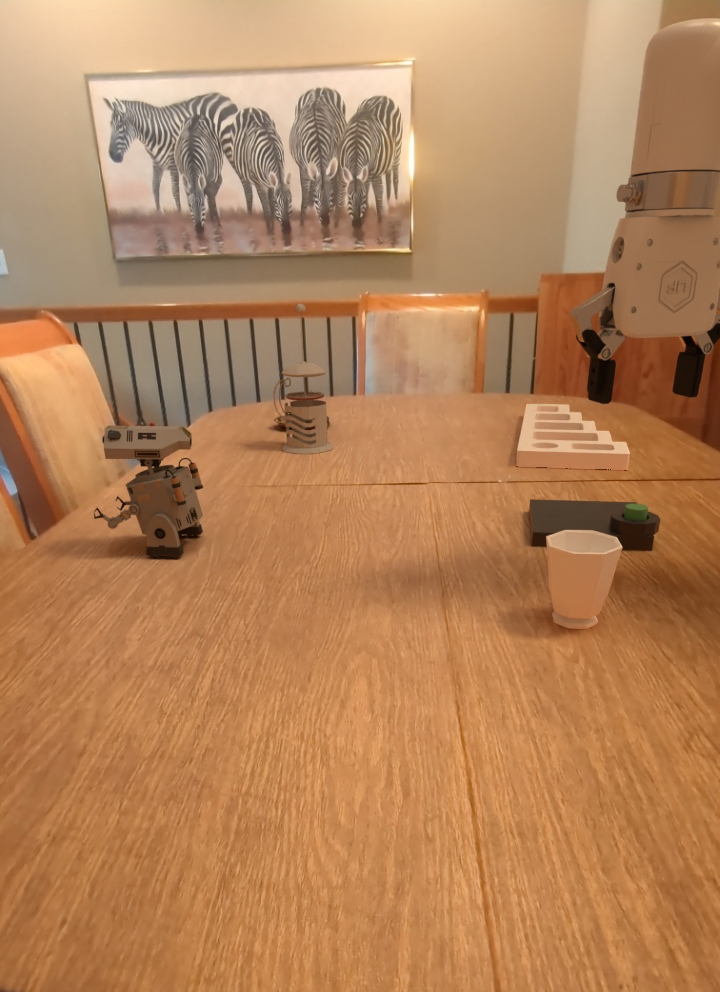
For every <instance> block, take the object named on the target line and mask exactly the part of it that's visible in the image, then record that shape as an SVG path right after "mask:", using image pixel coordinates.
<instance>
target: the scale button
mask: <svg viewBox="0 0 720 992" xmlns="http://www.w3.org/2000/svg"><path fill="white" fill-rule="evenodd" d="M648 512H649V506H648V505H646V504H643V503H637V504H627V505H626V506H625V513H624V518H625V519H630V520H641V521H642V520H647V514H648Z"/></svg>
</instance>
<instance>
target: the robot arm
mask: <svg viewBox="0 0 720 992" xmlns="http://www.w3.org/2000/svg"><path fill="white" fill-rule="evenodd" d="M642 66H643V67H642V75H641V83H640V92H639V99H638V108H637V116H636V125H635V132H634V133H635V134H634V141H633V149H632V157H631V166H630V174H629V177H628V179H627V180H628V181H627V184H619V186H618V188H617V190H616V200H617V201H616V202H618V203H624V204H625V205H624V211H625V214H624V217H623V218H622V217H621V218H619V219H618V222H617V225H616V227H615V231H614V233H613V237H612V240H611V244H610V248H609V253H608V257H607V261H606V266H605V271H604V276H603V281H602V286H601V290H600V291H598V292H597V293H595V294H594V295H592V296H591V297H590V298H587V299H586V300H584V301H583V302H581V303H580V304H578V305H576V306H574V307H573V308H572V309H571V310H570V311H569V319H570V321H571V324H572V327H573V330H574V332H575V333H576V334H575V339H576V340H577V342H578V343H579V345H580V346H581V347H582V349H583V350H584V352H585V353H584V354H585V356H586V357H587V358H589V368H588V376H587V383H586V384H587V385H586V390H587V391H586V392H587V399H588V400H589V401H591V402H594V403H598V404H602V405H609V404H610V403H611V402H612V399H613V392H614V391H613V390H614V383H615V376H616V369H617V362H616V360H615V359H612V356H613V355H614V354H615V352H616V351H617V350H618V349H619V347H620V346H621V345H622V344H623V342H624V341H625V340H626V338H631V339H656V338H676V337H677V338H678V339H679V341H680V343H681V344H682V346H683V349H684V351H679V352H678V354H677V360H676V365H675V372H674V378H673V384H672V393H673V394H674V395H678V396H682V397H686V398H697V397H698V395H699V392H700V391H699V390H700V385H701V382H702V377H703V370H704V365H705V360H706V355H709V354H711V353H712V352H713V349H714V346H715V344H716V343H717V342H718V341H719V340H720V215H715V212H716V206H717V200H718V193H719V188H720V18H719V17H718V18H715V17H712V18H711V17H710V18H709V17H707V18H706V17H705V18H704V17H703V18H695V19H689V20H683V21H679V22H675V23H672V24H670V25H666V26H665V27H663V28H661V29H660V30H658V31H657V32H656V33H654V35H652V37H651V39H650V40H649V41H648V44H647V47H646V49H645V54H644V60H643V65H642ZM597 314H598V328H599V331H598V332H596V331H595V329H594V328H593V323H592V321H593V317H594V316H595V315H597Z"/></svg>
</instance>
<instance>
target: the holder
mask: <svg viewBox="0 0 720 992" xmlns="http://www.w3.org/2000/svg"><path fill="white" fill-rule="evenodd" d="M524 410H525V411H524V414H523V415H524V416H523V419H522V424H521V430H520V434H519V439H518V444H517V449H516V458H515V459H516V460H515V461H516V462H515V467H516V466H518V467H517V468H536V467H547V468H546V469H565V468H568V469H569V470H570V468H571V470H595V469H607V470H606V471H624V470H627V471H628V470H629V465H630V458H631V452H630V449H629V447H628V446H629V445H628V443H627V441H613V439H612V436H611V432H610V430H597V427H596V421H594V420H583V416H582V412H581V411H570V410H571V409H570V404H567V403H566V404H565V403H526V405H525V409H524ZM568 469H567V470H568ZM608 469H609V470H608ZM610 469H611V470H610Z"/></svg>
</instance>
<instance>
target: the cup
mask: <svg viewBox="0 0 720 992" xmlns="http://www.w3.org/2000/svg"><path fill="white" fill-rule="evenodd" d="M546 543H547V547H546V555H547V572H548V573H547V574H548V588H549V593H550V599H551V605H552V608H553V611H552V612H551V617H552V620H553V623H554V624H556V625H559V626H561V627H563V628H566V629H569V630H570V629H571V630H573V629H574V630H588V629H590V628H592V627H595V626H596V625H598V618H597V615H599V614H600V613H601V612H602V609H603V607H604V604H605V602H606V600H607V598H608V596H609V593H610V590H611V586H612V582H613V580H614V575H615V574H616V570H617V566H618V564H619V560H620V557H621V553H622V551H623V550H622V545H621V544H620V542H619V540H618V539H617V537H614V536H611V535H607V534H604V533H600V532H597V531H593V530H563V531H560V532H557V533H555V534H552V535H549V536H546Z"/></svg>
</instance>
